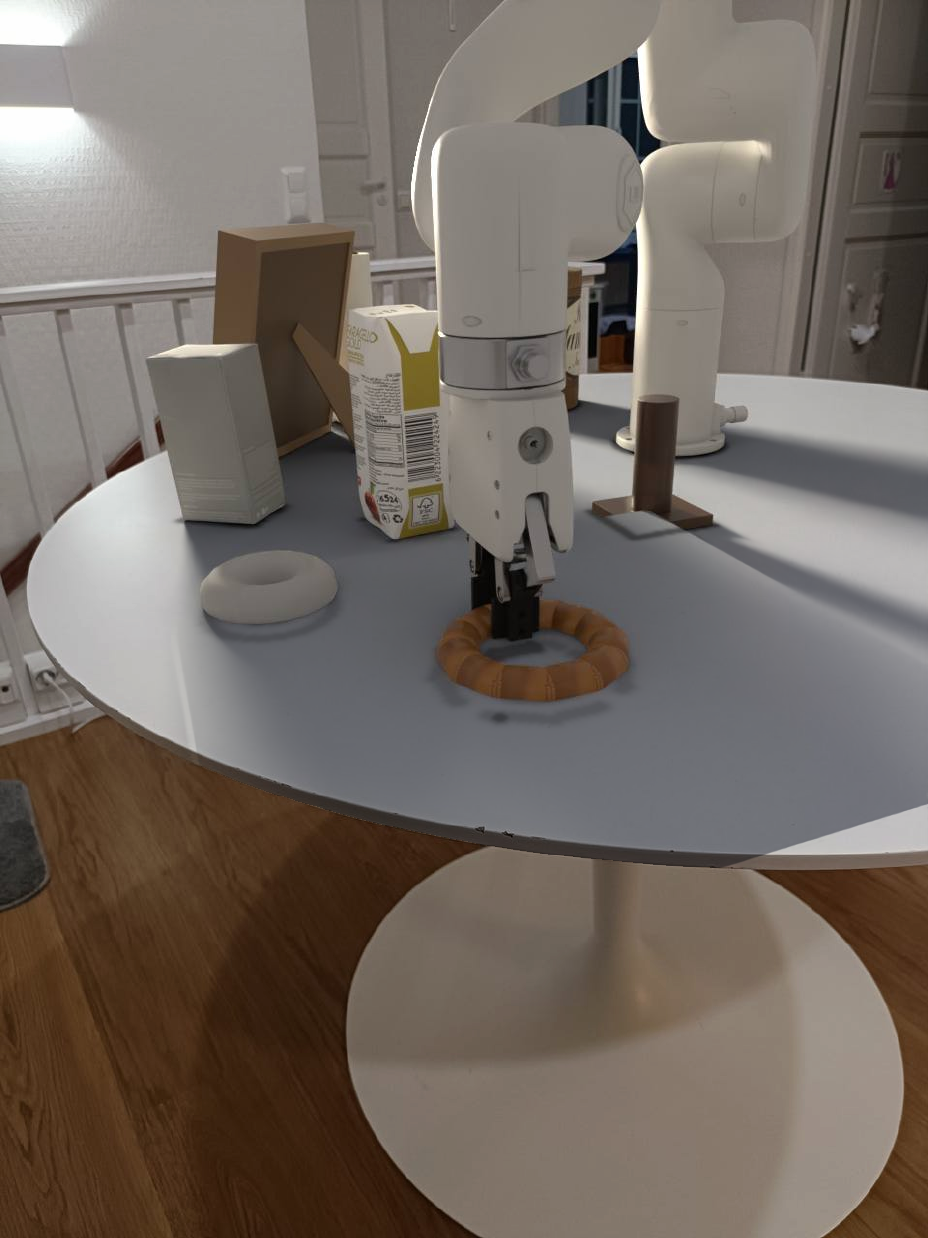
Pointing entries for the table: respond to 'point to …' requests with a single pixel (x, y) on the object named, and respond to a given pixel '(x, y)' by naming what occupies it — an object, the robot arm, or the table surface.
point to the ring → (536, 682)
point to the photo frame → (290, 320)
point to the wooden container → (573, 337)
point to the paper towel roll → (356, 298)
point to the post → (655, 468)
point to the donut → (268, 587)
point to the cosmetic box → (218, 432)
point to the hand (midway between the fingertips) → (504, 635)
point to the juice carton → (399, 419)
